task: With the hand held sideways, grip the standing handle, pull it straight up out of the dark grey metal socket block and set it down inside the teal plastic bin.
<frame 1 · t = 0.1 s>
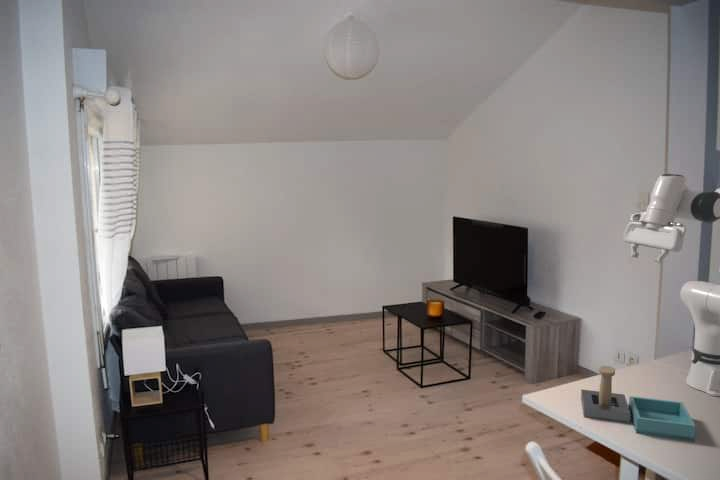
hand: (645, 259, 179), 52 cm above the table, tool tilted 20°, fingers open, 8 cm apart
bin: (659, 424, 174), on the table
handle: (604, 410, 184), resting in socket block
socket block: (604, 410, 184), on the table
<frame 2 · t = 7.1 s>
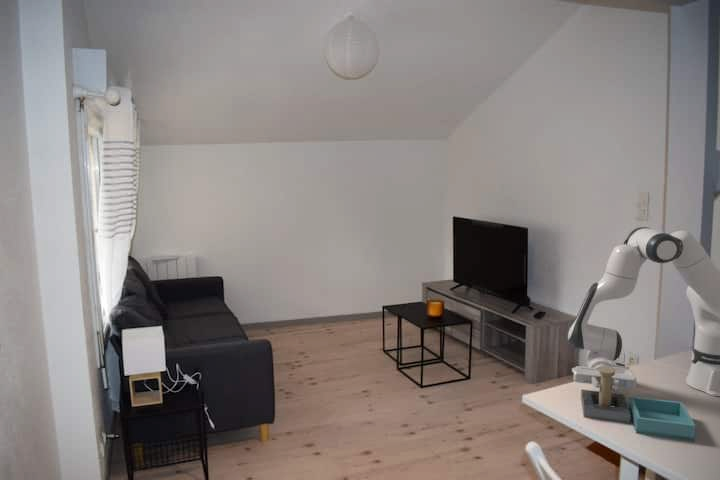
hand: (606, 386, 182), 9 cm above the table, tool horizontal, fingers closed on handle, 3 cm apart
handle: (604, 410, 184), resting in socket block, touching gripper
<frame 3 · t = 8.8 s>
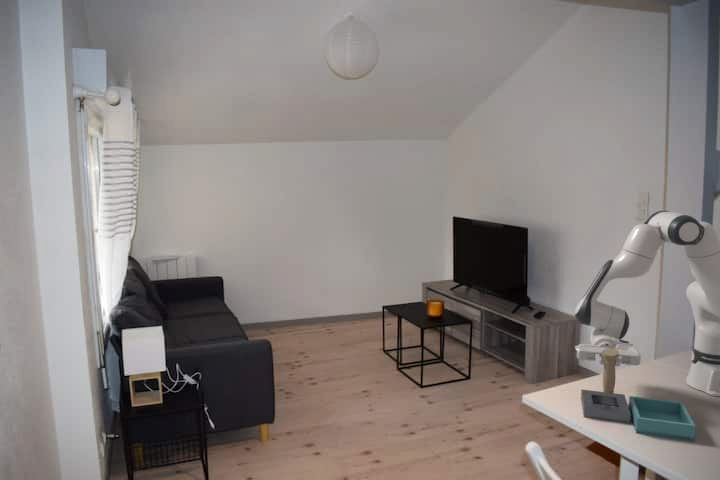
hand: (610, 363, 180), 18 cm above the table, tool horizontal, fingers closed on handle, 3 cm apart
handle: (608, 393, 183), point 6 cm above the table, touching gripper
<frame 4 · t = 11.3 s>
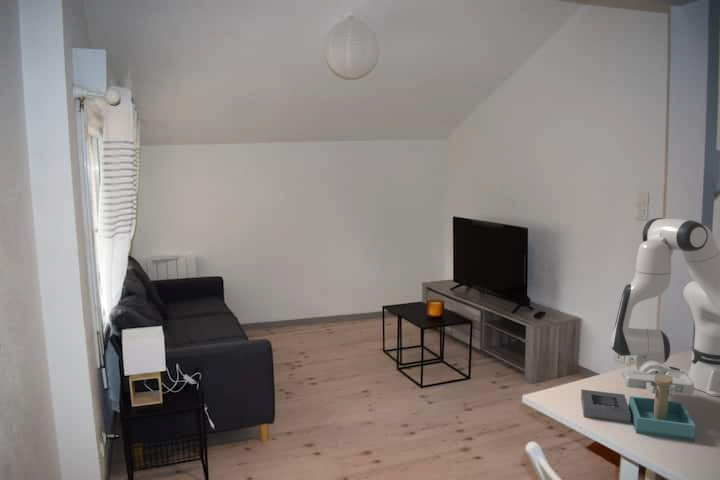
hand: (662, 392, 171), 12 cm above the table, tool horizontal, fingers closed on handle, 3 cm apart
handle: (659, 421, 174), point 1 cm above the table, touching bin, gripper
when the fingers open (12 cm above the table, at t = 11.7 s): handle stays where it is, resting on bin.
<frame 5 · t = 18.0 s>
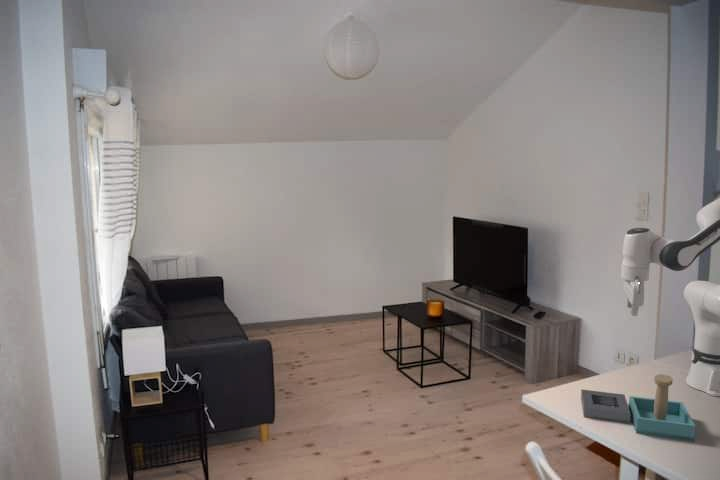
hand: (632, 311, 192), 31 cm above the table, tool pointing down, fingers open, 8 cm apart
handle: (659, 421, 174), point 1 cm above the table, touching bin
at the end: handle inside the target area on the bin (0.1 cm from its centre), point 0.8 cm above the bin's base; the gripper is holding nothing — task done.
